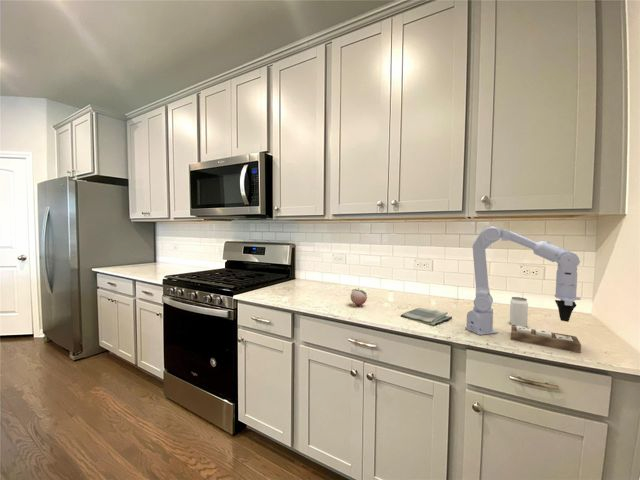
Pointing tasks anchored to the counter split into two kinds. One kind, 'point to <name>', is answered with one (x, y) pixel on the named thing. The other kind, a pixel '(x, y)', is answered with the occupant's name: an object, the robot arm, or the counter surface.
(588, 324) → the counter surface
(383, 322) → the counter surface
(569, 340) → the two dot tile
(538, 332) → the one dot tile
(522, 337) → the brown wooden tray
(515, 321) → the can
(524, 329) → the three dot tile
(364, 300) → the decorative fruit
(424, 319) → the dish towel
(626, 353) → the counter surface
